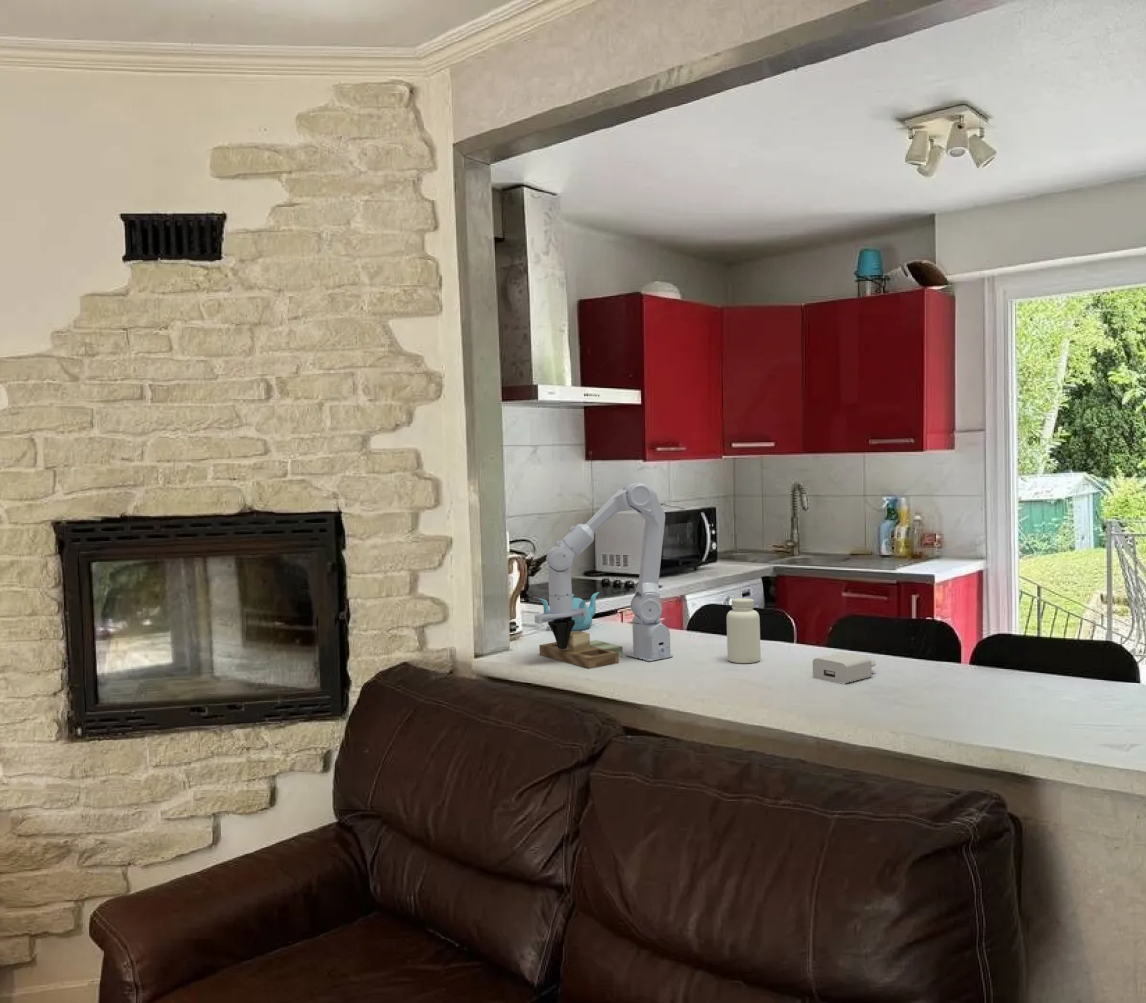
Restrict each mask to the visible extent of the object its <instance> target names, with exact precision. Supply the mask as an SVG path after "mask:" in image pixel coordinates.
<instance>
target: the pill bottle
mask: <svg viewBox="0 0 1146 1003" xmlns="http://www.w3.org/2000/svg"><path fill="white" fill-rule="evenodd" d="M754 607H755V600H754V599H753V598H747V597H746V598H745V597H741V598H740V597H739V598H738V597H737V598H733V599H731V608H732V609H731V610H729V611H728V612H727V614H726V644H727V645H726V646H727V647H726V648H727V659H728V661H729V662H732V663H737V664H754V663H758V662H760V661H761V655H762V654H761V625H760V624H761V621H760V619H761V618H760V614H759V612H758V611H757V610H754Z"/></svg>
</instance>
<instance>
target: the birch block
mask: <svg viewBox="0 0 1146 1003" xmlns="http://www.w3.org/2000/svg"><path fill="white" fill-rule="evenodd" d="M590 635H591V634H590V633H589V632H585V631H582V630H578V631H571V633H570V636H569V640H568V644H567V649H564V650H568V651H572V652H577V651H583V650H588V649H590V641H591V639H590V638H591V637H590Z"/></svg>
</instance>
